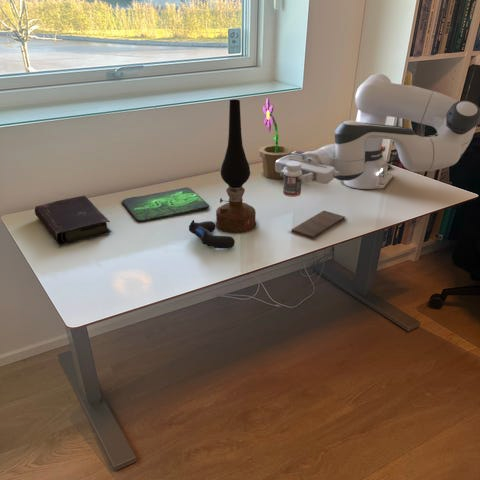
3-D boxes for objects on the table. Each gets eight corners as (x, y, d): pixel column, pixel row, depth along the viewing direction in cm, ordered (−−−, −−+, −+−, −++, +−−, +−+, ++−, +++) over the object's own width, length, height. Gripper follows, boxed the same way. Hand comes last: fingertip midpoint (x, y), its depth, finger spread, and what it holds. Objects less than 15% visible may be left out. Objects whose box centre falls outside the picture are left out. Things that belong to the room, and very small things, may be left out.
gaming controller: (206, 236, 168) (182, 228, 162) (214, 221, 166) (189, 211, 160) (230, 257, 156) (205, 248, 150) (239, 241, 154) (213, 231, 148)
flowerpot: (253, 170, 215) (254, 95, 198) (285, 167, 218) (288, 92, 201) (265, 182, 204) (267, 102, 186) (298, 178, 207) (303, 100, 190)
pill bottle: (300, 198, 161) (302, 167, 155) (282, 197, 162) (283, 166, 156) (301, 191, 166) (303, 161, 160) (283, 190, 166) (285, 160, 161)
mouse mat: (137, 222, 171) (137, 220, 171) (120, 200, 187) (120, 198, 187) (211, 208, 181) (211, 205, 180) (189, 188, 197) (188, 186, 197)
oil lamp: (259, 229, 175) (283, 106, 157) (246, 240, 162) (270, 107, 144) (222, 219, 178) (242, 97, 160) (206, 229, 165) (225, 97, 147)
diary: (57, 247, 157) (53, 232, 154) (36, 219, 174) (33, 205, 171) (114, 233, 165) (112, 219, 162) (89, 208, 182) (86, 194, 179)
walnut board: (323, 213, 178) (323, 210, 177) (344, 219, 174) (344, 216, 173) (291, 232, 165) (291, 229, 165) (313, 239, 161) (313, 236, 160)
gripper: (340, 181, 165) (318, 193, 156) (289, 168, 175) (265, 179, 167) (343, 162, 161) (320, 173, 152) (290, 150, 172) (265, 160, 163)
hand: (291, 176), depth 160 cm, fingers closed on pill bottle, 6 cm apart
